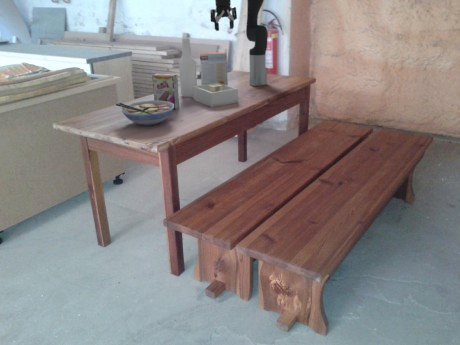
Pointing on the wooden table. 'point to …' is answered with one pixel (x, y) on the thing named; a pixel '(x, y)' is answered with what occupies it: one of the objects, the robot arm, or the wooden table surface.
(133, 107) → the ramen bowl
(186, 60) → the alcohol
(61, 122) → the wooden table surface
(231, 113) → the wooden table surface
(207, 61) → the cracker box
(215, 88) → the birch block
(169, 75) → the candy bar box
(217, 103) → the bin
